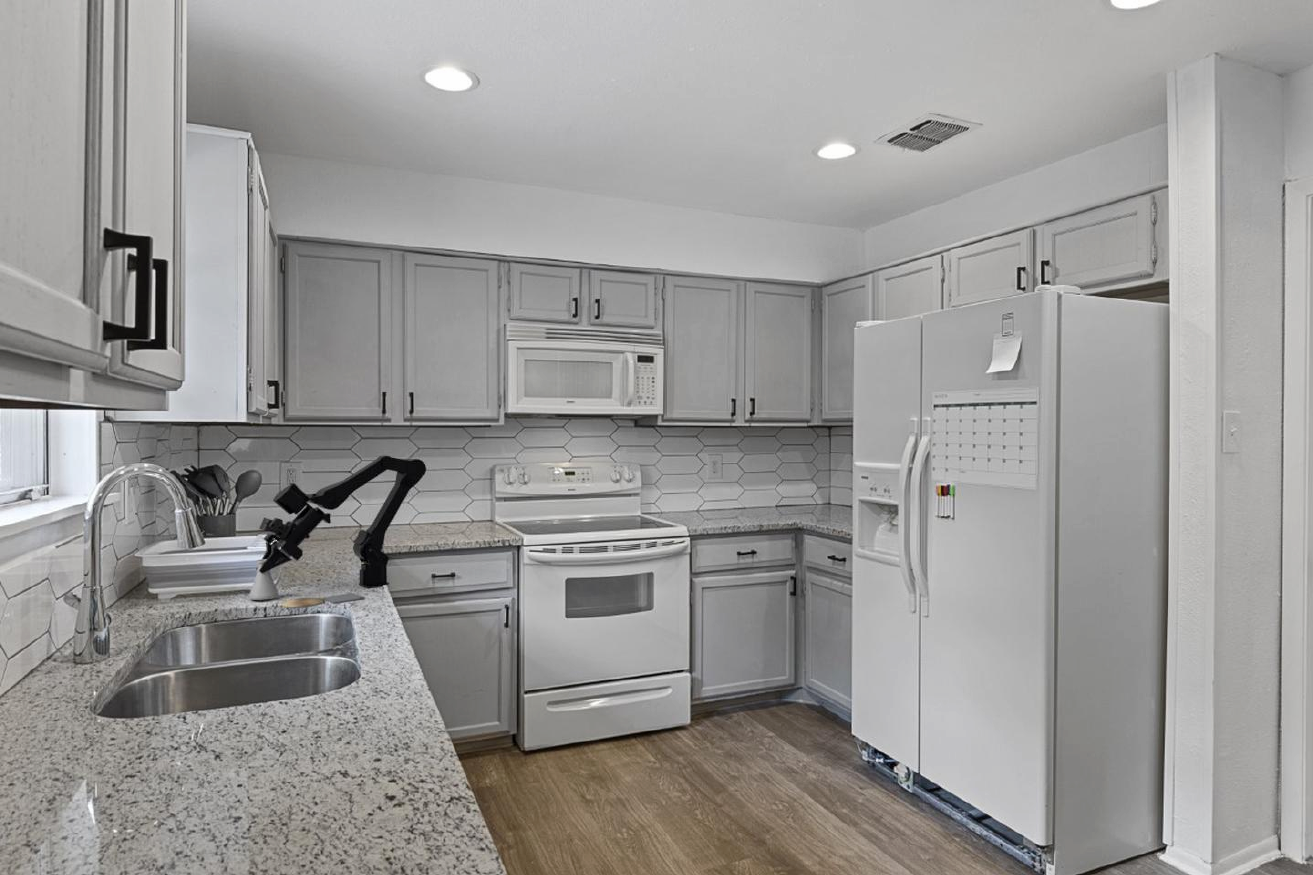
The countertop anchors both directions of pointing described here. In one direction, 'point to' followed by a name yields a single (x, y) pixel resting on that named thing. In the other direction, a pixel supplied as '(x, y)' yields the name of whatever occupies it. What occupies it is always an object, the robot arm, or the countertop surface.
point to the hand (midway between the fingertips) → (258, 571)
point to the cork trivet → (302, 602)
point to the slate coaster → (343, 598)
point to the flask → (263, 585)
